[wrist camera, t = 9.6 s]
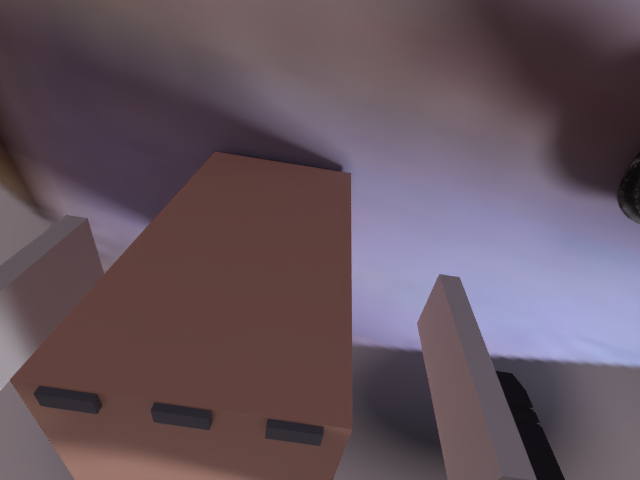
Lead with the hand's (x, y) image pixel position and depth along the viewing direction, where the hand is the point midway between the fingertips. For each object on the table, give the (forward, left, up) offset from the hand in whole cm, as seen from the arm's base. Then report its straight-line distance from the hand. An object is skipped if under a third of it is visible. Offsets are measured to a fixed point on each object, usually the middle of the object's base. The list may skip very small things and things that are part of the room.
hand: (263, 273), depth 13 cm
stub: (0, 0, -4) cm, 4 cm away
